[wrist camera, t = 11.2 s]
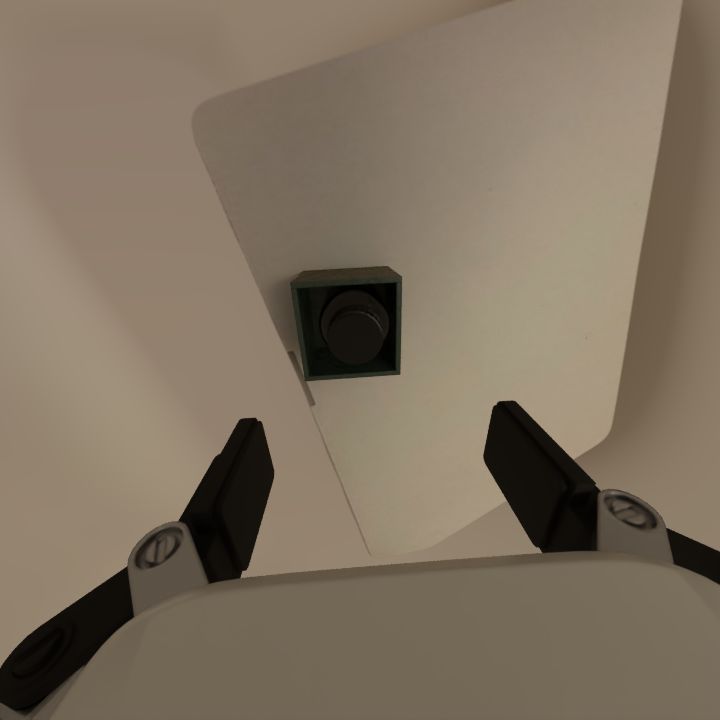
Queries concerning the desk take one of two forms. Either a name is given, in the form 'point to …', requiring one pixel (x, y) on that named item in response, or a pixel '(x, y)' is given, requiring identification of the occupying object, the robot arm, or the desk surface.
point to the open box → (307, 307)
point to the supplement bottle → (354, 322)
